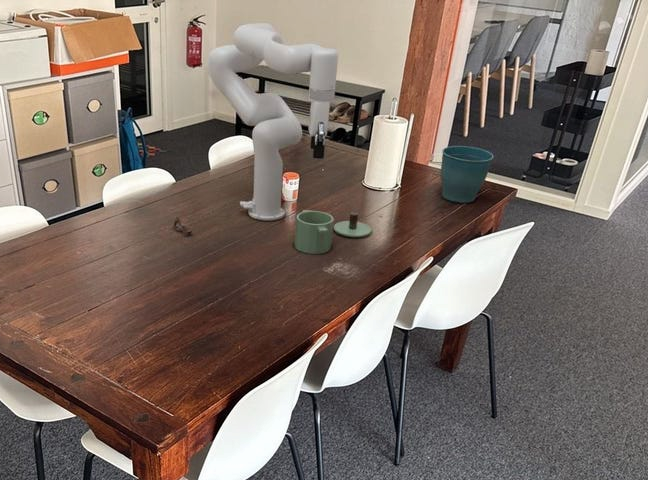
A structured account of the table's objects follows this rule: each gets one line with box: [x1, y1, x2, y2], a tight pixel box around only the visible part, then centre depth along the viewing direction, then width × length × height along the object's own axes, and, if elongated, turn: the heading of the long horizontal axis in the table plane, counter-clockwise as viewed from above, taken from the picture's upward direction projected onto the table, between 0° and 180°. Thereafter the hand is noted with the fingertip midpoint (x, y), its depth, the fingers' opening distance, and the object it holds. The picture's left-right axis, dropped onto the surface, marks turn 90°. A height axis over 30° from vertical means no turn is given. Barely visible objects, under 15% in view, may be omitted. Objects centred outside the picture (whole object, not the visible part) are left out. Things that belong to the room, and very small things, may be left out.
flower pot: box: [440, 145, 495, 204], centre depth 252 cm, size 18×18×17 cm
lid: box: [333, 211, 372, 238], centre depth 224 cm, size 12×12×6 cm
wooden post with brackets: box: [172, 215, 192, 237], centre depth 220 cm, size 2×8×4 cm, turn 44°
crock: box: [294, 209, 335, 255], centre depth 212 cm, size 11×17×10 cm
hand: (316, 153), depth 208 cm, fingers open, 9 cm apart
